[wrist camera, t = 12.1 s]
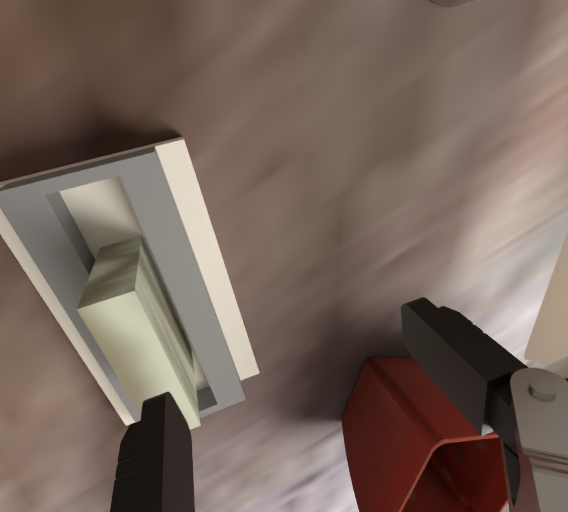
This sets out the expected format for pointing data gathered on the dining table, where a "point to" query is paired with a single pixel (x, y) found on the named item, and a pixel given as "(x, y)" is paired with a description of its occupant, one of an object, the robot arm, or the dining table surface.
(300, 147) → the dining table surface
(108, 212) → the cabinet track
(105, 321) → the door panel
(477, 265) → the dining table surface
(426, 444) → the plant pot
